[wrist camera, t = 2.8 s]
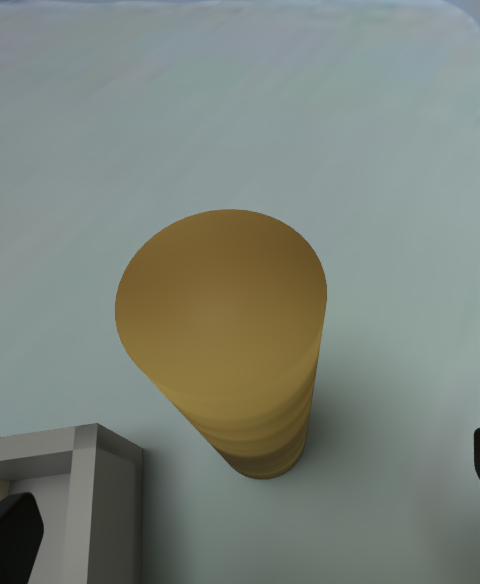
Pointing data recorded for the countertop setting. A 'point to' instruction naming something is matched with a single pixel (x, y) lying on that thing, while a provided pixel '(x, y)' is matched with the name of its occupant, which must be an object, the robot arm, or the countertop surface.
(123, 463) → the bore box
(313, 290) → the peg
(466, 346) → the countertop surface
